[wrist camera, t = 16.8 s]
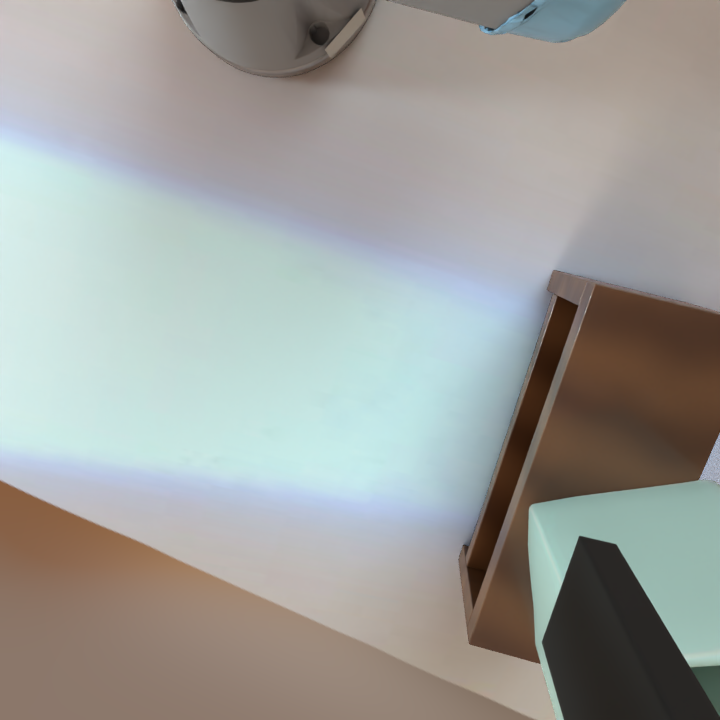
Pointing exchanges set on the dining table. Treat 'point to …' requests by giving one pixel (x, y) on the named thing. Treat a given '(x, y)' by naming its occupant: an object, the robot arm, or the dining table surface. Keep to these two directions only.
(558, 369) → the shelf
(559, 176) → the dining table surface
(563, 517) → the planter
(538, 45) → the dining table surface
